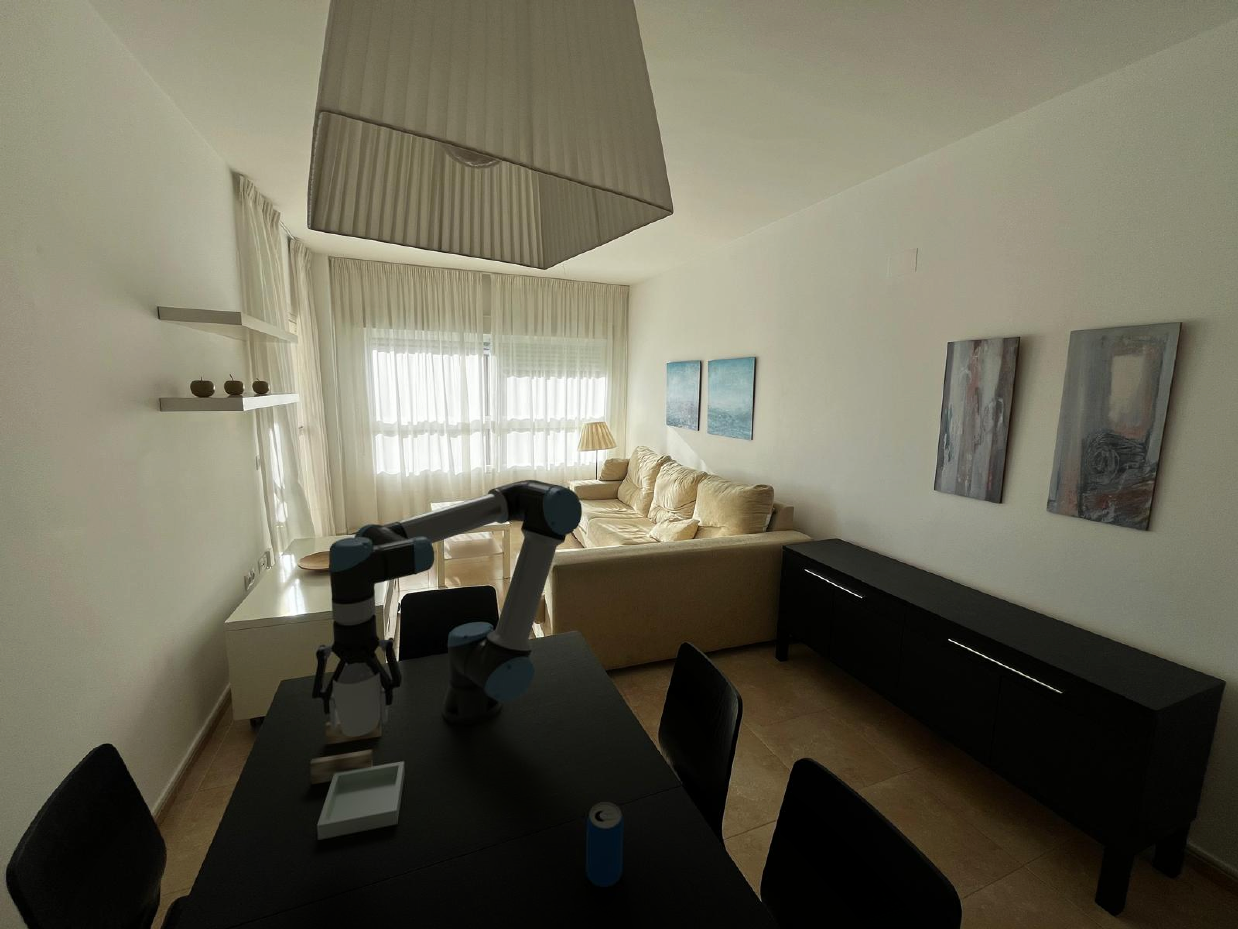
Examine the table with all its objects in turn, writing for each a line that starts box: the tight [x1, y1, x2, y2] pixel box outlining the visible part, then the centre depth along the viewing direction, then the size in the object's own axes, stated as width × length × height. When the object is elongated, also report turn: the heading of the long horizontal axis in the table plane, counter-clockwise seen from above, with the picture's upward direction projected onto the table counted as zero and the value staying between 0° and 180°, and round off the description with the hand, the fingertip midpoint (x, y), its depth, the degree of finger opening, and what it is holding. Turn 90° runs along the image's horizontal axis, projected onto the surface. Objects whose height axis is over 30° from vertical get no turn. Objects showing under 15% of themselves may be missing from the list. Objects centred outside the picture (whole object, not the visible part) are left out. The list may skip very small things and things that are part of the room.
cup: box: [332, 663, 382, 737], centre depth 104 cm, size 9×9×12 cm
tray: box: [316, 761, 406, 841], centre depth 107 cm, size 14×14×3 cm
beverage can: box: [585, 801, 624, 888], centre depth 93 cm, size 6×6×12 cm
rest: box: [309, 713, 382, 785], centre depth 121 cm, size 12×14×5 cm
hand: (360, 722), depth 105 cm, fingers closed on cup, 9 cm apart
